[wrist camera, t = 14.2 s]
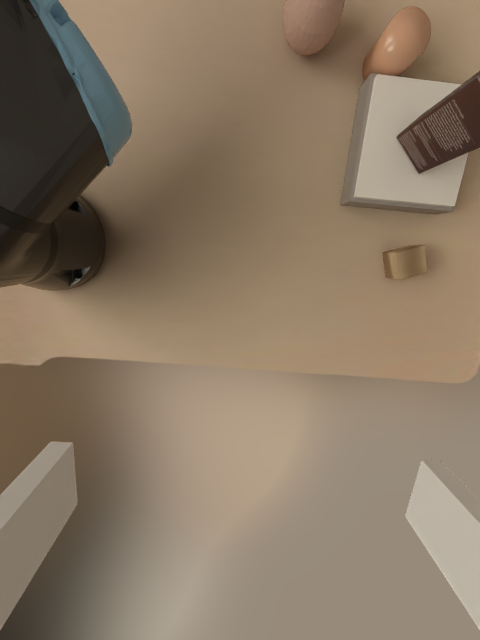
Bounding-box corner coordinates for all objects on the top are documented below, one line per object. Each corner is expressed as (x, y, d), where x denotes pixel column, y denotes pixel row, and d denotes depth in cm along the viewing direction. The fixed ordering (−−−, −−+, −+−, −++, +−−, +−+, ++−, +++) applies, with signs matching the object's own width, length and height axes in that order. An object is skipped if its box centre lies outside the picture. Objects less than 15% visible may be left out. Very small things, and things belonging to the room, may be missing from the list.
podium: (340, 205, 41) (351, 200, 37) (359, 87, 37) (374, 68, 33) (435, 214, 41) (457, 210, 37) (464, 100, 38) (490, 83, 34)
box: (446, 151, 36) (551, 102, 24) (417, 175, 36) (505, 139, 25) (423, 110, 34) (522, 37, 23) (393, 136, 35) (474, 78, 23)
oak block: (385, 277, 44) (400, 279, 40) (382, 252, 43) (397, 252, 39) (409, 270, 43) (427, 272, 40) (407, 245, 42) (424, 245, 39)
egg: (319, 76, 36) (347, 20, 28) (272, 62, 36) (285, 0, 27) (334, 17, 35) (369, -63, 26) (285, 1, 34) (304, -85, 26)
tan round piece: (359, 88, 37) (383, 57, 31) (366, 43, 36) (392, 3, 30) (394, 92, 37) (424, 62, 31) (402, 48, 36) (435, 9, 30)
